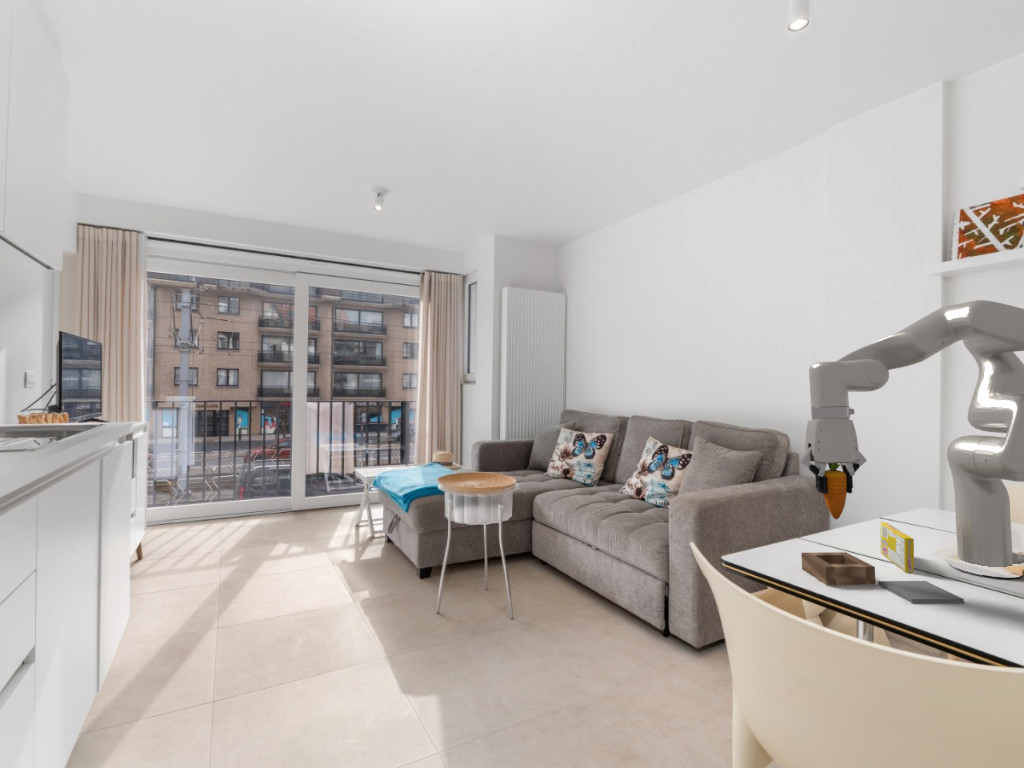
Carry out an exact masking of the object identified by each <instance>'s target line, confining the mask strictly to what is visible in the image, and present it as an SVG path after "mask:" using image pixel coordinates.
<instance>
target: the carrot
mask: <svg viewBox="0 0 1024 768" xmlns="http://www.w3.org/2000/svg"><path fill="white" fill-rule="evenodd" d="M827 466H828V468H829V469H827V470H826V469H825V473H824V476H825V477H827V486H828V493H827V494H823V493H822V495H823V498H824V501H825V505H826V507H827V510H828V511H829V513H830V514H831V516H832V518H833V519H834V520H839V518H841V515H842V513H843V511H844V509H845V506H846V501H847V494H848V493H847V478H846V474H845V473H844V472H842V470H839V469H838V468H839V467H841V466H840V463H829V464H827Z"/></svg>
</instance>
